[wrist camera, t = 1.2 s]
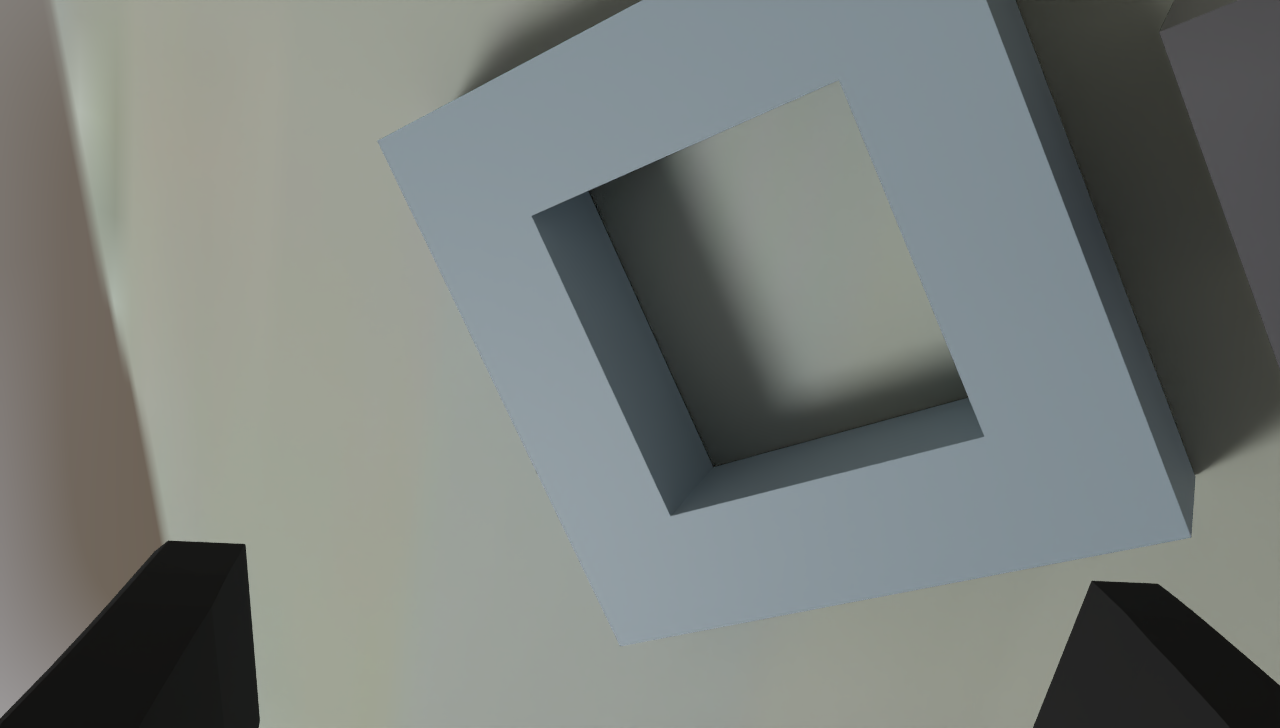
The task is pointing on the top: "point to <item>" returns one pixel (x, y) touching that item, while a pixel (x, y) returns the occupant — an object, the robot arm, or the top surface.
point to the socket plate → (942, 254)
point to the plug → (1237, 125)
